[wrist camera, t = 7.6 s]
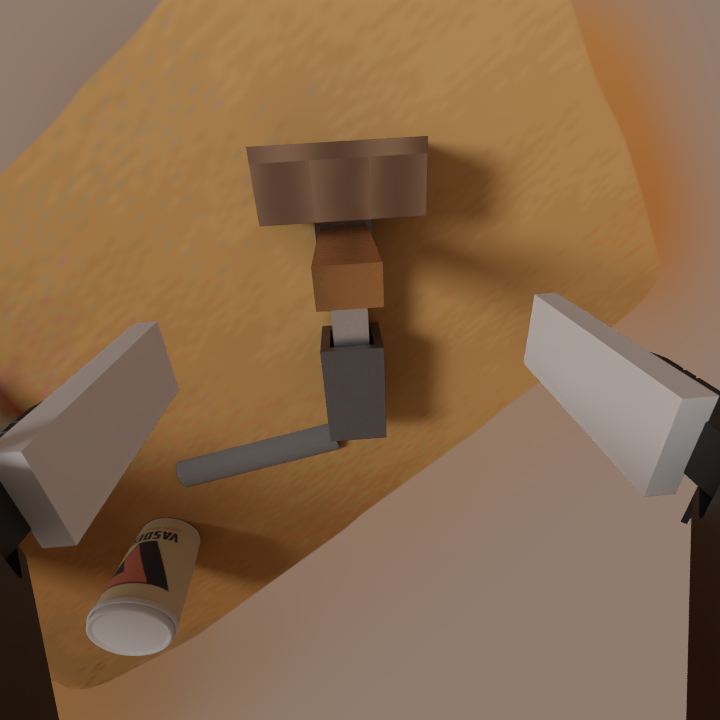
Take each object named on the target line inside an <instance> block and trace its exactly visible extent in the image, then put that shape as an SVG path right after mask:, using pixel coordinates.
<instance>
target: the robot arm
mask: <svg viewBox="0 0 720 720" xmlns="http://www.w3.org/2000/svg"><path fill="white" fill-rule="evenodd" d="M524 364H525V365H526V366H527V368H528V369H529V370H530V371H531V372H532V373H533V374H534V375H535V376H536V378H537V379H538V380H539V381H540V382H541V383H542V384H543V385H544V386H545V387H546V388H547V390H548V391H549V392H550V393H551V394H552V395H553V396H554V397H555V399H556V400H557V401H558V402H559V403H560V404H561V405H562V406H563V408H564V409H565V410H566V411H567V412H568V413H569V414H570V415H571V416H572V418H573V419H574V420H575V421H576V422H577V423H578V424H579V425H580V426H581V428H582V429H583V430H584V431H585V432H586V433H587V434H588V435H589V436H590V438H591V439H592V440H593V441H594V442H595V443H596V444H597V445H598V447H599V448H600V449H601V450H602V451H603V452H604V453H605V454H606V455H607V457H608V458H609V459H610V460H611V461H612V462H613V463H614V464H615V465H616V467H617V468H618V469H619V470H620V471H621V472H622V473H623V474H624V475H625V477H626V478H627V479H628V480H629V481H630V482H631V483H632V484H633V485H634V487H635V488H636V489H637V490H638V491H639V492H640V493H641V494H642V495H643V496H644V497H647V496H658V495H670V494H676V492H677V489H678V487H679V485H680V483H681V480H682V478H683V476H684V474H685V475H687V476H688V477H689V478H690V479H691V480H692V481H693V482H694V483H695V484H696V485H697V486H698V487H697V489H696V491H695V493H694V495H693V497H692V499H691V502H690V504H689V506H688V508H687V510H686V512H685V514H684V516H683V518H682V520H681V522H683V523H686V524H687V523H688V521H689V519H690V518H691V557H690V596H689V636H688V675H687V679H688V680H687V716H686V718H687V719H686V720H720V391H719V390H717V389H716V388H714V387H713V386H711V385H710V384H708V383H706V382H705V381H703V380H701V379H700V378H696V376H695V375H693V374H692V373H690V372H688V371H687V370H683V368H682V367H680V366H679V365H677V364H676V363H674V362H672V361H671V360H669V359H668V358H665V357H662V356H660V355H657V354H654V353H652V352H649V351H648V350H646V349H644V348H643V347H641V346H640V345H638V344H636V343H635V342H633V341H632V340H630V339H629V338H627V337H625V336H624V335H622V334H621V333H619V332H617V331H616V330H614V329H613V328H611V327H610V326H608V325H606V324H605V323H603V322H602V321H600V320H598V319H597V318H595V317H594V316H592V315H591V314H589V313H587V312H586V311H584V310H583V309H581V308H579V307H578V306H576V305H575V304H573V303H572V302H570V301H568V300H567V299H565V298H564V297H562V296H560V295H559V294H557V293H545V294H535V295H534V301H533V307H532V313H531V320H530V326H529V332H528V338H527V345H526V351H525V357H524ZM178 390H179V388H178V384H177V381H176V378H175V375H174V372H173V369H172V366H171V363H170V359H169V356H168V353H167V350H166V347H165V344H164V341H163V338H162V334H161V331H160V328H159V325H158V322H157V321H155V322H141V323H134V324H133V325H132V326H131V327H129V328H128V329H127V330H126V331H125V332H124V333H122V334H121V335H120V336H119V337H118V338H116V339H115V340H114V341H113V342H112V343H111V344H109V345H108V346H107V347H106V348H105V349H104V350H102V351H101V352H100V353H99V354H98V355H97V356H95V357H94V358H93V359H92V360H91V361H90V362H88V363H87V364H86V365H85V366H84V367H83V368H81V369H80V370H79V371H78V372H77V373H75V374H74V375H73V376H72V377H71V378H70V379H68V380H67V381H66V382H65V383H64V384H63V385H61V386H60V387H59V388H58V389H57V390H56V391H54V392H53V393H52V394H51V395H50V396H49V397H47V398H46V399H45V400H44V401H42V402H40V403H39V404H37V405H35V406H33V407H31V408H30V409H28V410H27V411H26V412H25V413H23V414H22V415H21V416H20V417H19V418H18V419H16V420H15V421H14V424H10V425H9V426H8V427H7V428H6V429H4V430H3V431H2V434H0V720H59V718H58V712H57V707H56V702H55V697H54V693H53V688H52V683H51V678H50V673H49V668H48V663H47V658H46V653H45V648H44V643H43V638H42V633H41V628H40V624H39V619H38V614H37V609H36V604H35V599H34V594H33V589H32V584H31V579H30V574H29V569H28V564H27V560H26V556H25V554H24V553H23V552H22V550H21V549H20V547H19V546H18V545H19V544H20V543H21V541H22V540H23V539H24V538H25V537H26V535H27V534H28V533H29V532H30V531H31V532H32V534H33V535H34V537H35V538H36V540H37V541H38V543H39V544H40V546H41V547H42V548H53V547H65V546H76V545H77V544H78V543H79V541H80V540H81V538H82V537H83V535H84V534H85V532H86V531H87V529H88V528H89V526H90V525H91V523H92V521H93V520H94V518H95V517H96V515H97V514H98V512H99V511H100V509H101V508H102V506H103V505H104V503H105V502H106V500H107V499H108V497H109V496H110V494H111V492H112V491H113V489H114V488H115V486H116V485H117V483H118V482H119V480H120V479H121V477H122V476H123V474H124V473H125V471H126V470H127V468H128V467H129V465H130V463H131V462H132V460H133V459H134V457H135V456H136V454H137V453H138V451H139V450H140V448H141V447H142V445H143V444H144V442H145V441H146V439H147V438H148V436H149V435H150V433H151V431H152V430H153V428H154V427H155V425H156V424H157V422H158V421H159V419H160V418H161V416H162V415H163V413H164V412H165V410H166V409H167V407H168V406H169V404H170V402H171V401H172V399H173V398H174V396H175V395H176V393H177V392H178Z"/></svg>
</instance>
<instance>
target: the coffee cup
mask: <svg viewBox="0 0 720 720" xmlns="http://www.w3.org/2000/svg"><path fill="white" fill-rule="evenodd" d="M199 546H200V536H199V533H198V532H197V530H196V529H195V528H194V527H193V526H191V525H190V524H188V523H186V522H184V521H181V520H178V519H173V518H160V519H156V520H153V521H151V522H149V523H147V524H146V525H145V526H144V527H143V528H142V530H141V531H140V533H139V534H138V536H137V538H136V539H135V541H134V542H133V544H132V546H131V547H130V549H129V551H128V552H127V554H126V555H125V557H124V559H123V560H122V562H121V564H120V565H119V567H118V569H117V570H116V572H115V574H114V575H113V577H112V579H111V580H110V582H109V583H108V585H107V587H106V588H105V590H104V592H103V593H102V595H101V597H100V599H99V600H98V602H97V604H96V606H95V607H94V608H93V609H92V610H91V612H90V613H89V615H88V617H87V626H86V632H87V635H88V637H89V638H90V640H91V641H92V642H93V643H95V644H96V645H97V646H99V647H101V648H102V649H105V650H107V651H110V652H113V653H117V654H121V655H128V656H142V655H149V654H154V653H157V652H159V651H161V650H163V649H165V648H166V647H167V646H168V645H169V644H170V643H171V641H172V640H173V639H174V638H175V637H176V635H177V632H178V628H179V621H180V617H181V614H182V610H183V607H184V603H185V599H186V595H187V592H188V588H189V584H190V581H191V577H192V573H193V569H194V565H195V562H196V558H197V554H198V550H199Z"/></svg>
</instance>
